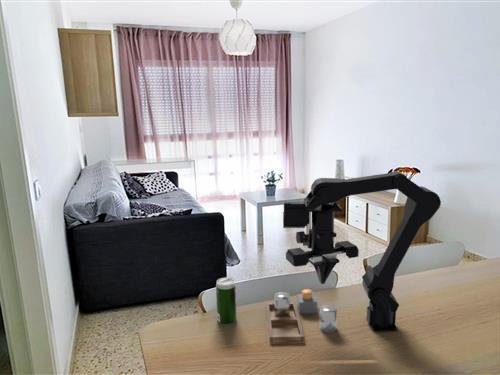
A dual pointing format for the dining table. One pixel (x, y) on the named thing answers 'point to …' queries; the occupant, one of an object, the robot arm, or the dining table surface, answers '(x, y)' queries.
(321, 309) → the billet
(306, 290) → the button
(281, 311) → the seated billet
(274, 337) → the pallet
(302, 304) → the grey square block
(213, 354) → the dining table surface
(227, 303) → the green soda can
